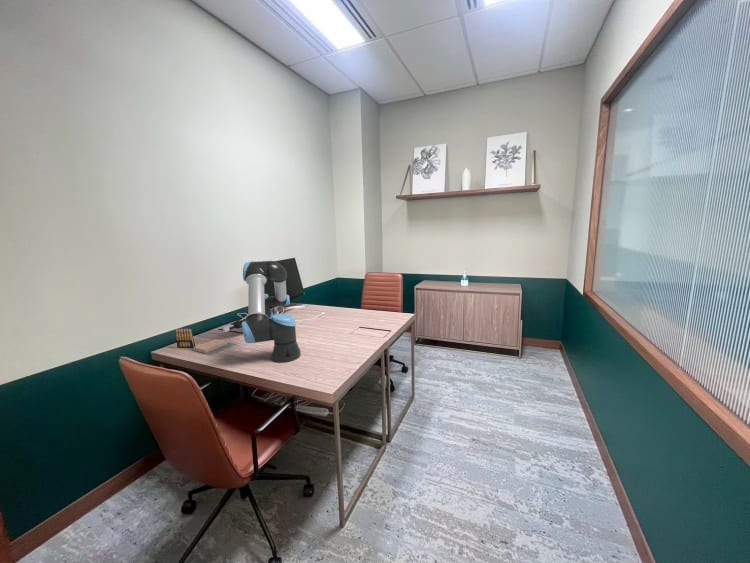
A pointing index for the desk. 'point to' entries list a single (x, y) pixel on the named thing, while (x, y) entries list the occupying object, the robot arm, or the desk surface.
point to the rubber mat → (216, 349)
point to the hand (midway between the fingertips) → (224, 329)
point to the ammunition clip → (184, 339)
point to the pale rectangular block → (210, 345)
